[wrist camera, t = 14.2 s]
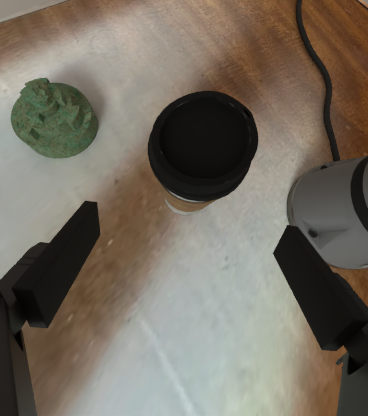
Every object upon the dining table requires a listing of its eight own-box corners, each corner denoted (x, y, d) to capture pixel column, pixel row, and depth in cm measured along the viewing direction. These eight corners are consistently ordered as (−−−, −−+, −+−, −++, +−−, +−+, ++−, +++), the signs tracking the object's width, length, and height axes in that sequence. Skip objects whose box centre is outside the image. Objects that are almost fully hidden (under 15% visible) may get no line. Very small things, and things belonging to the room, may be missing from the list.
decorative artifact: (80, 167, 28) (108, 109, 31) (52, 140, 21) (91, 68, 24) (11, 144, 28) (44, 88, 30) (-39, 109, 21) (10, 40, 24)
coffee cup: (225, 205, 29) (287, 156, 14) (174, 235, 27) (185, 214, 13) (195, 157, 30) (223, 67, 16) (144, 184, 29) (122, 110, 14)
